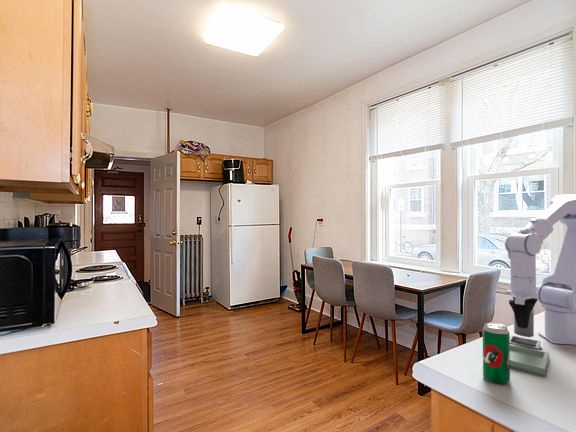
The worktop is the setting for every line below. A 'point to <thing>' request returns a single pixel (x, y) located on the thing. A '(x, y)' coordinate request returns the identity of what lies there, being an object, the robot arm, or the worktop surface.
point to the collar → (525, 342)
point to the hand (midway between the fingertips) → (523, 325)
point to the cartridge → (523, 331)
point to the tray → (528, 360)
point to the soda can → (496, 353)
